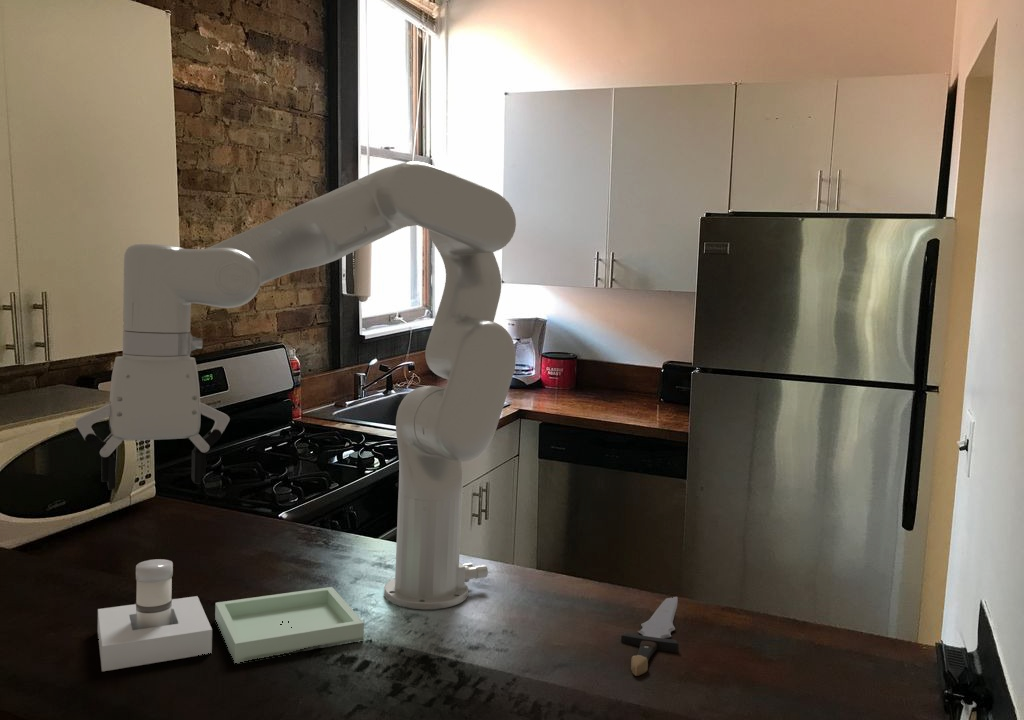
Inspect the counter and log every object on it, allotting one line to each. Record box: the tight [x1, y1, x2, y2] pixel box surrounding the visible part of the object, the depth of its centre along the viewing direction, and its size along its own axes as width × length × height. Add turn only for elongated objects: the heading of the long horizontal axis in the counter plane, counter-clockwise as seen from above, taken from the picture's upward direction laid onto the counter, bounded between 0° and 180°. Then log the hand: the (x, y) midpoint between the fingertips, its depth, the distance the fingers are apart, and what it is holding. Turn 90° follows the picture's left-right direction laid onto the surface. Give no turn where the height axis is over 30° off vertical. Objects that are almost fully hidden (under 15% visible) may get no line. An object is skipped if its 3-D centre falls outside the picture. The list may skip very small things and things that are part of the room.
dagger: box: [620, 596, 680, 677], centre depth 112 cm, size 8×32×2 cm, turn 168°
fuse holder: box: [97, 595, 213, 672], centre depth 100 cm, size 12×12×3 cm
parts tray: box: [214, 586, 365, 664], centre depth 106 cm, size 16×14×2 cm
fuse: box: [135, 558, 174, 630], centre depth 100 cm, size 4×4×10 cm
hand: (154, 484), depth 99 cm, fingers open, 9 cm apart
